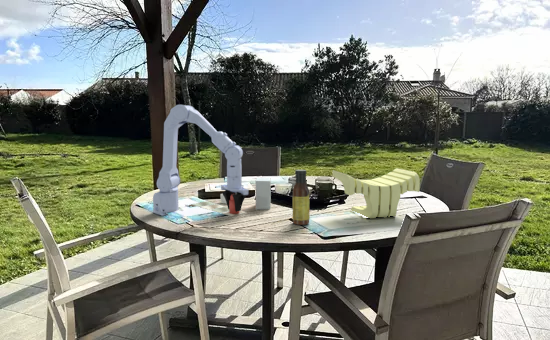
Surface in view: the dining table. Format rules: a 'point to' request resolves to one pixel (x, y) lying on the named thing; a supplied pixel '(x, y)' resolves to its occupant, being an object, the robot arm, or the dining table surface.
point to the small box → (263, 193)
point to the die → (223, 199)
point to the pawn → (232, 206)
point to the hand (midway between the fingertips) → (234, 210)
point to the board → (219, 209)
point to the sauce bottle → (301, 199)
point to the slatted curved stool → (380, 191)
